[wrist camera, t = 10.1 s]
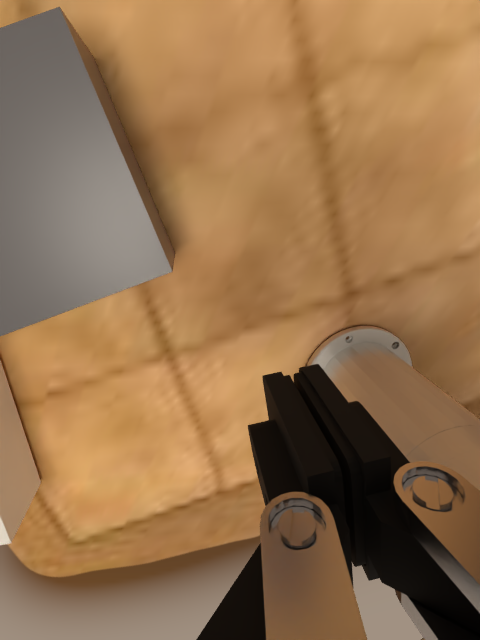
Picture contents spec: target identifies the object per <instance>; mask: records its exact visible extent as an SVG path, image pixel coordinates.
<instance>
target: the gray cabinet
mask: <svg viewBox="0 0 480 640" xmlns="http://www.w3.org/2000/svg"><path fill="white" fill-rule="evenodd" d="M174 258H175V252H174V250H173V247H172V245H171V242H170V240H169V238H168V235H167V233H166V230H165V228H164V226H163V223H162V221H161V218H160V216H159V214H158V211H157V209H156V206H155V204H154V201H153V199H152V197H151V194H150V192H149V189H148V187H147V185H146V182H145V180H144V177H143V175H142V173H141V170H140V168H139V165H138V163H137V161H136V158H135V156H134V153H133V151H132V148H131V146H130V144H129V141H128V139H127V136H126V134H125V132H124V129H123V127H122V124H121V122H120V120H119V117H118V115H117V112H116V110H115V107H114V105H113V103H112V100H111V98H110V95H109V93H108V91H107V88H106V86H105V83H104V81H103V79H102V76H101V74H100V71H99V69H98V67H97V64H96V62H95V59H94V57H93V55H92V54H91V53H90V51H89V50H88V48H87V47H86V45H85V44H84V42H83V41H82V39H81V38H80V36H79V35H78V33H77V32H76V30H75V29H74V27H73V26H72V25H71V23H70V22H69V20H68V19H67V17H66V16H65V14H64V13H63V11H62V10H61V8H60V7H57V8H55V9H52V10H49V11H46V12H44V13H41V14H38V15H35V16H32V17H30V18H27V19H24V20H21V21H18V22H16V23H13V24H10V25H7V26H5V27H2V28H0V336H2V335H5V334H8V333H10V332H13V331H16V330H18V329H21V328H24V327H26V326H29V325H32V324H34V323H37V322H40V321H42V320H45V319H48V318H50V317H53V316H56V315H58V314H61V313H64V312H66V311H69V310H72V309H74V308H77V307H80V306H82V305H85V304H88V303H90V302H93V301H96V300H98V299H101V298H104V297H106V296H109V295H112V294H114V293H117V292H120V291H122V290H125V289H128V288H130V287H133V286H136V285H138V284H141V283H144V282H146V281H149V280H152V279H154V278H157V277H160V276H162V275H165V274H168V273H170V272H172V271H173V265H174Z"/></svg>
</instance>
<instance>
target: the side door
mask: <svg viewBox="0 0 480 640" xmlns="http://www.w3.org/2000/svg"><path fill="white" fill-rule="evenodd" d="M40 483H41V481H40V478H39V475H38V472H37V469H36V466H35V463H34V460H33V457H32V454H31V451H30V448H29V445H28V442H27V439H26V436H25V433H24V430H23V427H22V424H21V421H20V418H19V415H18V412H17V409H16V406H15V403H14V400H13V397H12V394H11V391H10V388H9V385H8V382H7V379H6V376H5V372H4V369H3V366H2V363H1V360H0V545H3V544H9V543H11V542H12V540H13V538H14V536H15V534H16V532H17V530H18V528H19V526H20V524H21V522H22V520H23V518H24V516H25V514H26V512H27V510H28V508H29V506H30V504H31V502H32V500H33V498H34V496H35V494H36V492H37V490H38V488H39V485H40Z"/></svg>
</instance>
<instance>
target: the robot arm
mask: <svg viewBox="0 0 480 640" xmlns="http://www.w3.org/2000/svg"><path fill="white" fill-rule="evenodd" d="M347 336H348V337H347ZM346 337H347V338H346ZM263 384H264V391H265V397H266V403H267V410H268V416H269V421H265V422H261V423H256V424H252V425H248V430H249V436H250V441H251V447H252V452H253V457H254V461H255V466H256V470H257V474H258V479H259V482H260V486H261V490H262V494H263V498H264V502H265V506H266V507H265V509H264V511H263V513H262V515H261V521H260V537H261V543H260V545H259V546H258V548H257V549H256V551H255V552H254V554H253V555H252V557H251V558H250V560H249V561H248V563H247V564H246V566H245V568H244V569H243V570H242V572H241V574H240V575H239V576H238V578H237V579H236V581H235V582H234V584H233V585H232V587H231V588H230V590H229V591H228V593H227V594H226V596H225V597H224V599H223V600H222V602H221V603H220V605H219V607H218V608H217V610H216V611H215V613H214V614H213V616H212V617H211V619H210V620H209V622H208V623H207V625H206V626H205V628H204V629H203V631H202V632H201V634H200V635H199V637H198V638H197V640H367V637H366V633H365V630H364V626H363V622H362V619H361V615H360V611H359V608H358V604H357V601H356V597H355V594H354V590H353V577H352V563H353V564H354V566H355V567H356V566H360V565H362V567H363V569H364V571H365V573H366V575H367V578H368V580H373V579H377V578H380V580H381V582H382V583H384V584H386V585H388V586H390V587H392V588H394V589H395V592H396V595H397V597H398V599H399V601H400V603H401V605H402V607H403V608H404V609H405V611H406V612H407V614H408V615H409V617H410V618H411V619H412V621H413V623H414V624H415V625H416V627H417V628H418V630H419V632H420V633H421V634H422V636H423V637H424V638H422V639H421V640H480V419H479V418H477V417H476V416H475V415H473V414H472V413H471V412H470V411H468V410H467V409H466V408H464V407H463V406H462V405H460V404H459V403H458V402H457V401H455V400H454V399H453V398H451V397H450V396H449V395H448V394H446V393H445V392H444V391H442V390H441V389H440V388H438V387H437V386H436V385H435V384H433V383H432V382H431V381H429V380H428V379H427V378H425V377H424V376H423V375H422V374H420V373H419V372H418V371H416V370H415V369H414V368H412V360H411V357H410V353H409V351H408V349H407V348H406V346H405V344H404V343H403V342H402V341H401V340H400V339H399V338H398V337H396V336H395V335H393V334H392V333H391V332H388V331H386V330H384V329H382V328H378V327H374V326H358V327H352V328H349V329H346V330H343V331H340V332H338V333H337V334H335V335H333V336H331V337H330V338H329V339H327V340H326V341H325V342H323V343H322V344H321V345H320V346H319V347H318V349H317V350H316V351H315V352H314V354H313V355H312V357H311V358H310V360H309V362H308V364H307V366H305V367H300V368H299V373H296V374H294V382H293V381H292V379H291V377H290V376H289V375H287V376H283V374H282V372H277V373H273V374H268V375H264V376H263Z"/></svg>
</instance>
